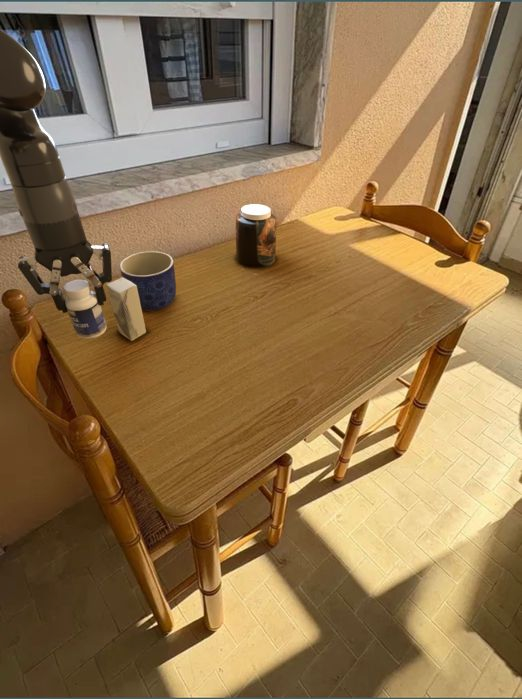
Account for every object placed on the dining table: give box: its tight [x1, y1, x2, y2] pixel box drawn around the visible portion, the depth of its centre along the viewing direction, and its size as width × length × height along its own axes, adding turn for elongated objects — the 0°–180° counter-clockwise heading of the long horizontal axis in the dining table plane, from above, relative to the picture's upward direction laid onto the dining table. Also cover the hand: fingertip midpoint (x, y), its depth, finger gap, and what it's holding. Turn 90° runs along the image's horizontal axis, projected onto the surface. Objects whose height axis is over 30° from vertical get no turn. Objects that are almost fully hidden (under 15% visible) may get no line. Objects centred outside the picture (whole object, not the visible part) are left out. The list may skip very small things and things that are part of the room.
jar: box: [235, 203, 277, 269], centre depth 111 cm, size 12×12×15 cm
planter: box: [119, 250, 177, 312], centre depth 94 cm, size 12×12×11 cm
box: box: [106, 276, 147, 342], centre depth 83 cm, size 5×4×13 cm
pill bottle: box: [63, 279, 107, 340], centre depth 67 cm, size 5×5×10 cm
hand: (83, 306), depth 67 cm, fingers closed on pill bottle, 5 cm apart
